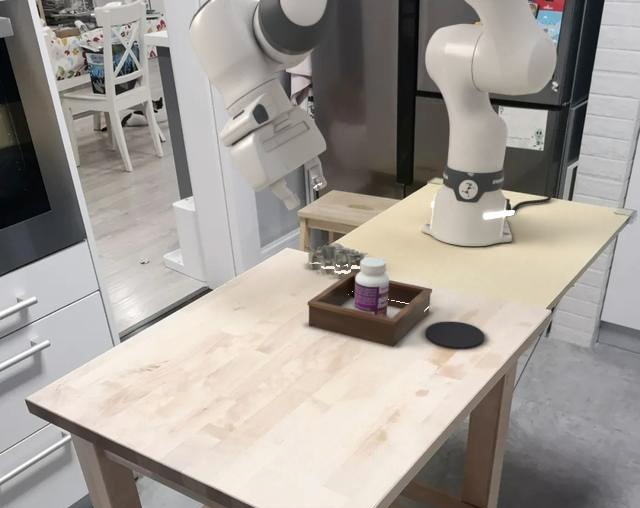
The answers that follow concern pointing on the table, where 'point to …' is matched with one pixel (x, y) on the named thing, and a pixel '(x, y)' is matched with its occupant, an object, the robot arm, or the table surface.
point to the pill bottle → (372, 287)
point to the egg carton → (335, 259)
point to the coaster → (454, 335)
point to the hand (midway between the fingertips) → (309, 197)
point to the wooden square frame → (366, 325)
